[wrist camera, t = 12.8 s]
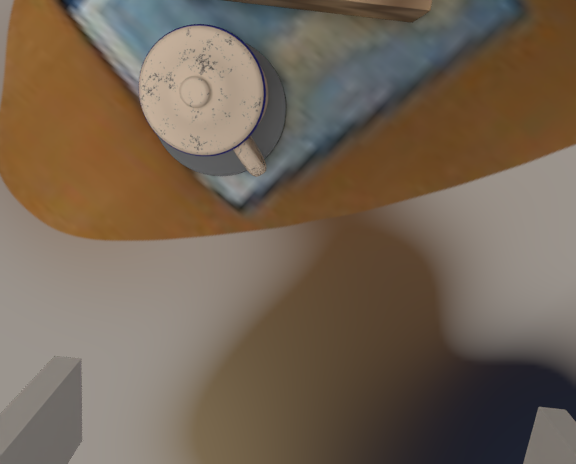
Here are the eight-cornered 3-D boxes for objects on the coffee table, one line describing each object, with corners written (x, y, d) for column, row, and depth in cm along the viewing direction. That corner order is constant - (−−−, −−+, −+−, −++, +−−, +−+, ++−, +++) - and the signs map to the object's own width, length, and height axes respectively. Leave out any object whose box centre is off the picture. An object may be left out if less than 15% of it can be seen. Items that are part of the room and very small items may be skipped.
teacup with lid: (147, 76, 44) (95, 69, 33) (233, 16, 42) (211, -14, 31) (224, 191, 46) (201, 221, 35) (308, 138, 45) (312, 152, 34)
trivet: (293, 45, 44) (293, 44, 43) (278, 181, 47) (278, 182, 46) (156, 29, 44) (152, 28, 43) (150, 166, 47) (147, 168, 46)
